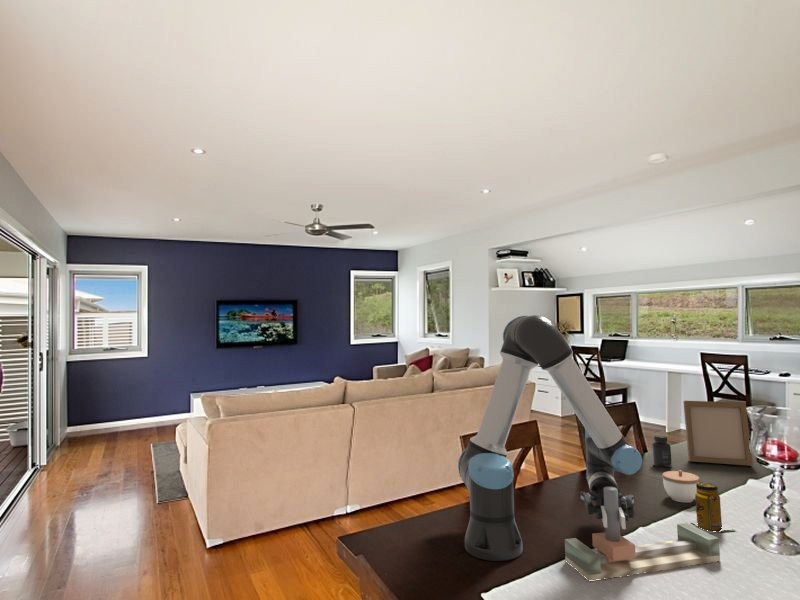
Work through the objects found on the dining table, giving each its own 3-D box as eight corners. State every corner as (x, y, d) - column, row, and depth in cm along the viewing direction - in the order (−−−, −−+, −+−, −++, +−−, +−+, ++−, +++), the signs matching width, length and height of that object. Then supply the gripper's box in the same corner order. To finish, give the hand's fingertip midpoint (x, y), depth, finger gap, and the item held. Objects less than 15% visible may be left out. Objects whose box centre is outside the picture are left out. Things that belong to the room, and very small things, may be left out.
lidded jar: (691, 507, 155) (690, 477, 155) (657, 498, 163) (655, 470, 164) (706, 500, 161) (704, 471, 161) (672, 491, 170) (671, 464, 170)
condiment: (690, 523, 143) (687, 481, 144) (717, 521, 144) (714, 479, 144) (708, 533, 136) (705, 489, 136) (736, 531, 136) (733, 487, 137)
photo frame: (753, 468, 194) (749, 404, 195) (690, 463, 202) (686, 402, 204) (744, 458, 207) (740, 399, 209) (685, 454, 216) (681, 397, 217)
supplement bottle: (672, 464, 201) (670, 435, 202) (671, 469, 195) (669, 438, 196) (653, 462, 205) (652, 433, 205) (652, 467, 199) (650, 437, 200)
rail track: (589, 582, 112) (588, 557, 112) (565, 562, 122) (564, 539, 122) (720, 561, 120) (718, 538, 120) (687, 544, 130) (686, 522, 130)
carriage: (613, 566, 114) (610, 495, 115) (593, 551, 122) (589, 485, 123) (635, 562, 116) (632, 492, 117) (614, 548, 124) (610, 482, 125)
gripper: (636, 505, 134) (654, 542, 112) (573, 501, 139) (578, 535, 116) (635, 478, 135) (652, 508, 112) (572, 474, 139) (576, 503, 117)
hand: (614, 522), depth 114 cm, fingers closed on carriage, 3 cm apart
